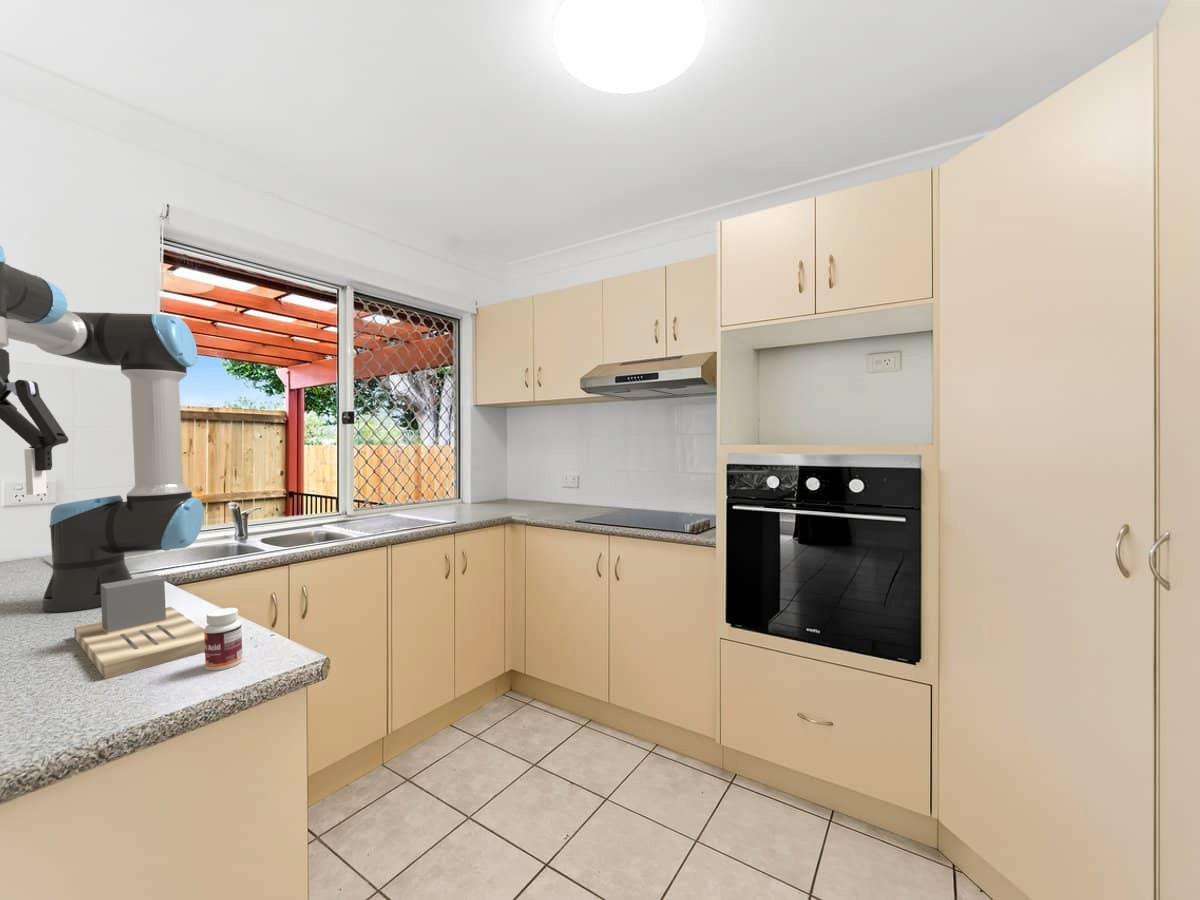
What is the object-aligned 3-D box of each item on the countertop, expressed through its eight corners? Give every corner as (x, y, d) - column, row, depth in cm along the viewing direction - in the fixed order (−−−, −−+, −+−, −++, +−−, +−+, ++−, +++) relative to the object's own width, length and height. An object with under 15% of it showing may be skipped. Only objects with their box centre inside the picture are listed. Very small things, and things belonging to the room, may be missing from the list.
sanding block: (108, 634, 92) (106, 588, 92) (102, 628, 96) (100, 584, 95) (166, 621, 99) (164, 578, 98) (159, 616, 102) (157, 574, 102)
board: (74, 638, 97) (74, 626, 97) (171, 616, 108) (170, 606, 108) (104, 679, 79) (104, 665, 79) (216, 648, 90) (215, 636, 90)
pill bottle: (198, 669, 82) (196, 615, 82) (229, 656, 87) (226, 605, 86) (219, 673, 80) (217, 618, 80) (249, 660, 85) (247, 608, 85)
